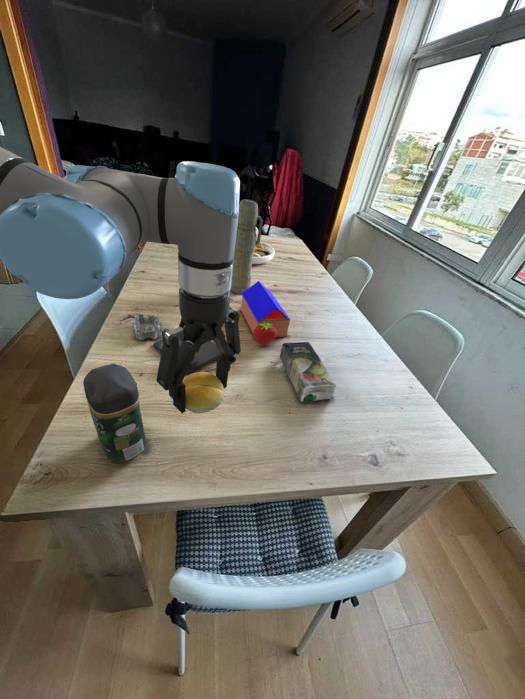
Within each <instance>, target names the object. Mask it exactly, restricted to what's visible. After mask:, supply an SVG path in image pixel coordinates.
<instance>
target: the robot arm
mask: <svg viewBox="0 0 525 699" xmlns="http://www.w3.org/2000/svg"><path fill="white" fill-rule="evenodd" d="M240 191H241V180H240V177H239V175H238V174H237V173H236V172H235V171H234V170H233V169H231V168H228V167H227V166H223V165H217V164H212V163H206V162H197V161H192V160H191V161H189V160H187V161H185V160H184V161H181V162H179V163H178V164H177V166H176V173H175V175H174V177H169V178H168V177H159V176H153V175H148V174H142V173H136V172H130V171H124V170H119V169H113V168H108V167H107V166H104V165H103V166H102V165H97V166H91V165H90V166H89V165H81V164H80V165H79V164H75V165H72V166H70V167H69V168H67V169H66V172H65V176H63V177H61V176H60V175H57V174H55V173H53V172H51V171H49V170H46V169H45V168H42V167H41V166H39V165H37V164H35V163H32V162H31V161H28V160H26V159H25V158H24V157H22V156H20V155H18V154H16V153H14V152H12V151H10V150H8V149H6V148H4V147H2V146H0V261H1V262H2V264H3V265H4V266H5V268H6V269H7V271H9V272H10V273H11V275H13V276H14V277H18V279H20V280H21V281H22V282H24V283H25V285H27V287H28V288H29V289H31V290H33V291H34V292H36V293H39V294H41V295H43V296H46V297H49V298H53V299H54V298H55V299H59V300H60V299H61V300H78V299H83V298H85V297H89V296H90V295H92V294H95V293H96V292H97V291H99V290H100V289H101V288H103V286H105V285H106V284H107V283H108V282H110V281H111V280H112V279H113V278H115V277H116V276H117V275H118V273H119V272H120V270H121V269H122V268H123V267H124V266H125V263H126V261H127V260H128V258H129V257H130V256H131V254H132V253H133V252H135V250H136V249H137V248H138V247H139V245H140V244H141V243H142V242H145V243H146V242H147V243H154V244H160V245H161V244H163V245H173V246H177V251H178V252H177V260H178V261H177V262H178V263H177V264H178V268H177V269H178V271H177V272H178V273H177V275H178V276H177V279H178V280H177V281H178V286H179V288H178V309H179V313H180V316H181V317H180V318H181V319H180V322H179V324H178V327H176V328H174V329H172V330H170V329H169V328H164V329H163V330H162V331H161V338H162V339H161V340H163V347H162V353H161V352H160V358H159V362H158V363H159V364H158V368H157V375H156V383H157V384H158V385H159V386H161V387H162V389H164V390H165V391H166V392H167V391H168V396H169V397H170V398H171V399H172V405H173V406H174V408H176V409H177V410H178V411H179V413H180V414H184V413H186V410H187V409H186V402H185V385H184V384H183V383H182V382H183V380H184V379H185V378H186V375H187V374H186V373H187V370H188V368H189V366H190V364H191V362H192V359H193V357H194V355H195V353H197V352H199V350H200V347H201V345H203V344H204V343H206V342H207V341H211V342H212V341H213V344H215V345H216V346H217V348H218V350H219V352H220V354H221V355H222V356H218V357H217V359H216V363H215V376H217V377H218V378H219V379H220V381H221V382H222V384H223V388H224V390H226V388H228V378H229V372H230V371H231V366H232V364H234V363H235V362H236V361H237V357H235V355H237V356H238V355H240V354H241V351H242V350H241V349H242V348H241V340H240V339H241V338H240V329H239V322H240V316H241V312H239V311H237V310H236V309H234V308H233V307H231V306H230V305H231V297H232V296H231V294H232V293H231V290H230V289H231V283H232V272H233V261H234V252H235V243H236V234H237V224H238V215H239V204H240ZM223 327H224V331H223ZM224 332H225V333H224ZM181 337H182V338H181ZM189 340H190V341H191V342H192V343H194V344H192V343H190V342H189ZM180 344H181V345H180ZM179 345H180V348H179Z"/></svg>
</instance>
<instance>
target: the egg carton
mask: <svg viewBox="0 0 525 699" xmlns="http://www.w3.org/2000/svg"><path fill="white" fill-rule="evenodd" d="M133 321H134V323H133V329H134V333H135V335H136V339H139V340H140V341H145V340H146V339H152V340H156V339H157V338H160V337H161V333H160V332H161V331H160V329H161V317H160V315H159V314H152V315H150V314H147V316H144V314H142V313H137V312H134V320H133Z"/></svg>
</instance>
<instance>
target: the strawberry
mask: <svg viewBox="0 0 525 699" xmlns="http://www.w3.org/2000/svg"><path fill="white" fill-rule="evenodd" d="M263 323H264V324H262V323H260V324H258V326H257V327H255V329H254V334H253V337H254V338H255V340H256V342H257V343H258V344H259V345H260V347H264V346H266V345H268V344H270V343H271V342H272V341H274V339H276V338H277V337H276V335H277V330H276V328H275V327H274V326H272V325H274V324H269V322H268V323H266V322H264V321H263Z"/></svg>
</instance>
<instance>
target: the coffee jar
mask: <svg viewBox="0 0 525 699" xmlns="http://www.w3.org/2000/svg"><path fill="white" fill-rule="evenodd" d="M82 381H83V382H82V384H83V390H84V394H85V399H86V401H87V406H88V409H89V412H90V416H91V419H92V422H93V426H94V428H95V431H96V433H97V437H98V440H99V443H100V446H101V449H102V451H103V453H104V455H105V456H106V458H107V460H109V461H110V462H111V463H116V464H119V463H124V462H128V461H130V460H132V459H134V458H136V457H138V456H139V455H141V454H142V453H143V452H144V451H145V449H146V447H147V440H146V439H147V438H146V434H145V429H144V428H145V427H144V423H143V422H144V421H143V416H142V411H141V410H142V409H141V406H140V405H141V404H140V393H139V389H138V383H137V382H136V380H135V379H134V376H133V375H132V373H131V372H130V371H129V369H128V368H126V367H125V366H123V365H120V364H116V363H109V364H104V365H102V366H98V367H94V368H92V369H90V371H89V372H88V373H87V374H86V375H85V376H84V378H83V380H82Z"/></svg>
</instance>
